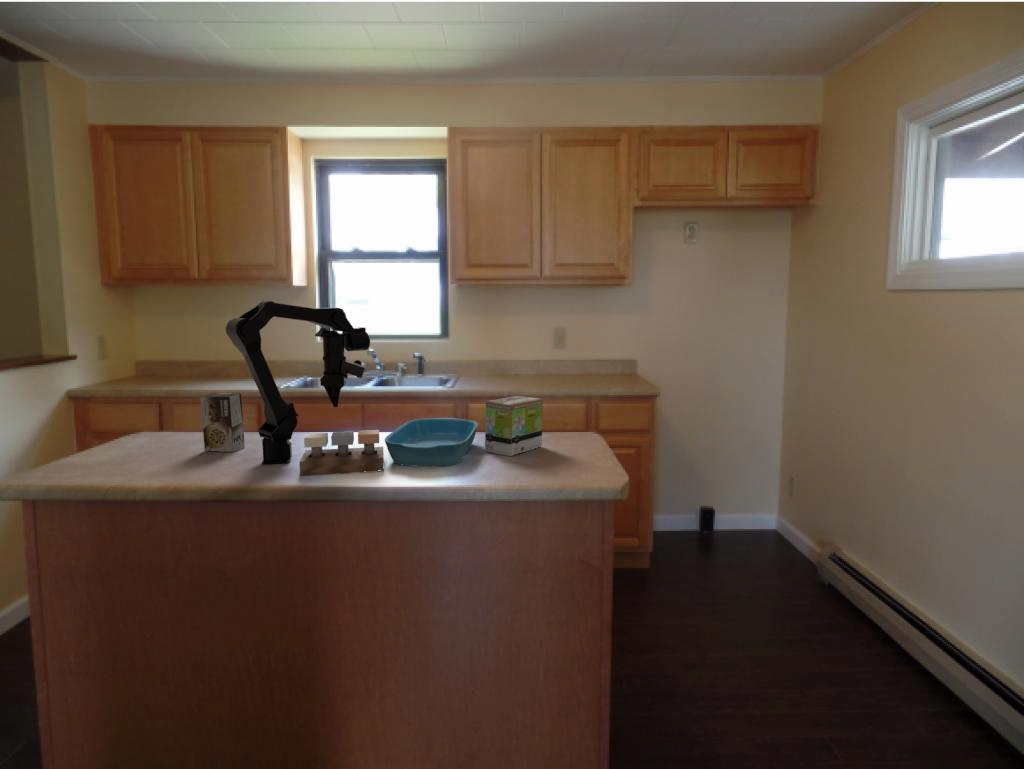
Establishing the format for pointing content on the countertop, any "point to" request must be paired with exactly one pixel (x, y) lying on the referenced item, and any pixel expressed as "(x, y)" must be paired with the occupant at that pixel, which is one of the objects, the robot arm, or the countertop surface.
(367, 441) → the terracotta key
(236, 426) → the coffee box
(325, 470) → the key block
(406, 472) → the countertop surface
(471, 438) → the casserole dish
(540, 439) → the tea box
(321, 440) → the cream key
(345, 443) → the slate key
